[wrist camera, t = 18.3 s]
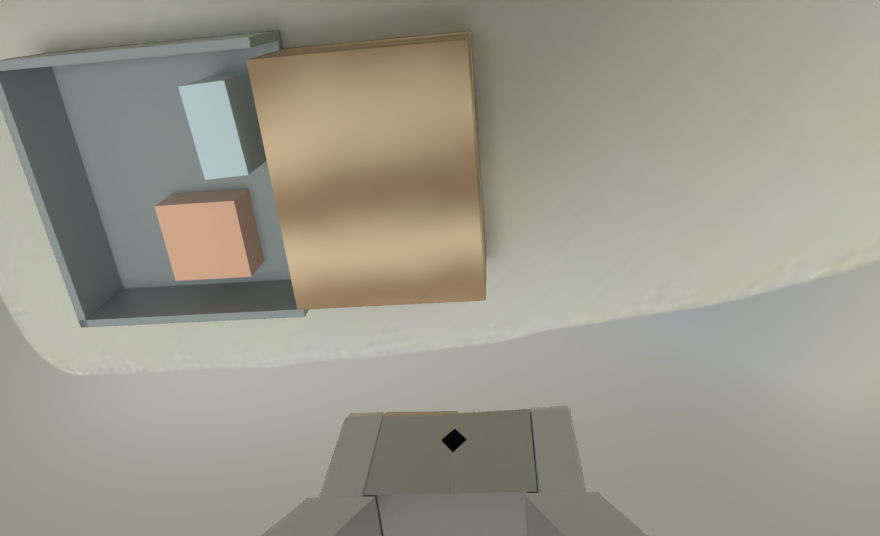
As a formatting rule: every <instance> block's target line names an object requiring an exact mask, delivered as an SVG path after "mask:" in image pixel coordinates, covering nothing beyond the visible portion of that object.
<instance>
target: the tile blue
mask: <svg viewBox="0 0 880 536" xmlns="http://www.w3.org/2000/svg"><path fill="white" fill-rule="evenodd" d="M178 88H179V92H180V95H181V98H182V102H183V105H184V109H185V112H186V116H187V119H188V123H189V126H190V130H191V133H192V137H193V140H194V143H195V147H196V150H197V154H198V157H199V161H200V164H201V168H202V171H203V175H204V178H205V180H208V179H217V178H226V177H235V176H243V175H249V174H250V173H252V172H253V171H254V170H255V169H257V168H258V167H259V166H260V165H262V164H263V163H264V162H266V161H267V160H266V155H265V150H264V145H263V140H262V135H261V130H260V126H259V121H258V116H257V111H256V106H255V101H254V96H253V92H252V87H251V82H250V77H249V72H248V70H243V71H236V72H228V73H221V74H215V75H212V76H209V77H206V78H203V79H200V80H197V81H194V82H190V83H187V84H184V85H181V86H178Z"/></svg>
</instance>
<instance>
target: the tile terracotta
mask: <svg viewBox="0 0 880 536" xmlns="http://www.w3.org/2000/svg"><path fill="white" fill-rule="evenodd" d="M155 210H156V213H157V217H158V220H159V224H160V227H161V231H162V234H163V238H164V241H165V245H166V248H167V252H168V255H169V259H170V262H171V266H172V269H173V273H174V276H175V280H176V281H183V280H201V279H220V278H238V277H252V276H253V274H254V273H255V272H256V271H257V269H258V268H259V267H260V266H261V265H262V263H263V262H264V257H263V252H262V248H261V243H260V239H259V234H258V230H257V225H256V220H255V216H254V211H253V207H252V202H251V198H250V193H249V189H234V190H219V191H205V192H191V193H176V194H172V195H171V196H169V197H168V198H166V199H164V200H163V201H161V202H160V203H158V204H157V205H155Z"/></svg>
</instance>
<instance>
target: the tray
mask: <svg viewBox="0 0 880 536" xmlns="http://www.w3.org/2000/svg"><path fill="white" fill-rule="evenodd" d="M280 49H282V45H281V40H280V35H279V31H269V32H259V33H249V34H238V35H228V36H218V37H207V38H197V39H186V40H176V41H166V42H155V43H145V44H135V45H124V46H114V47H104V48H93V49H83V50H73V51H62V52H52V53H43V54H36V55H30V56H23V57H17V58H10V59H4V60H0V107H1V110H2V112H3V115H4V118H5V121H6V123H7V126H8V129H9V132H10V134H11V137H12V140H13V142H14V145H15V148H16V151H17V153H18V156H19V159H20V162H21V164H22V167H23V170H24V173H25V175H26V178H27V181H28V184H29V186H30V189H31V192H32V194H33V197H34V200H35V203H36V205H37V208H38V211H39V214H40V216H41V219H42V222H43V225H44V227H45V230H46V233H47V236H48V238H49V241H50V244H51V246H52V249H53V252H54V255H55V257H56V260H57V263H58V266H59V268H60V271H61V274H62V277H63V279H64V282H65V285H66V288H67V290H68V293H69V296H70V298H71V301H72V304H73V307H74V309H75V312H76V315H77V318H78V320H79V323H80V326H81V327H101V326H122V325H142V324H163V323H183V322H204V321H225V320H245V319H266V318H287V317H305V316H306V314H307V312H308V310H309V309H302V310H297V305H296V300H295V296H294V291H293V286H292V281H291V276H290V271H289V266H288V262H287V257H286V252H285V247H284V242H283V237H282V232H281V228H280V223H279V218H278V213H277V208H276V203H275V198H274V194H273V189H272V184H271V179H270V174H269V169H268V164H267V161H266V162H264V163H263V164H262V165H260V166H259V167H258V168H257V169H255V170H254V171H253V172H252V173H250V174H249V175H243V176H235V177H226V178H217V179H208V180H205V178H204V175H203V171H202V168H201V164H200V161H199V157H198V154H197V150H196V147H195V143H194V140H193V137H192V133H191V130H190V126H189V123H188V119H187V116H186V112H185V109H184V105H183V102H182V98H181V95H180V92H179V88H178V86H181V85H184V84H187V83H190V82H194V81H197V80H200V79H203V78H206V77H209V76H212V75H215V74H221V73H228V72H236V71H243V70H248V67H247V62H246V60H247V59H251V58H254V57H257V56H260V55H264V54H267V53H270V52H273V51H277V50H280ZM234 189H249V193H250V198H251V202H252V207H253V211H254V216H255V220H256V225H257V230H258V234H259V239H260V243H261V248H262V252H263V257H264V262H263V263H262V265H261V266H260V267H259V268H258V269H257V271H256V272H255V273H254V274H253V276H252V277H238V278H220V279H201V280H183V281H176V280H175V276H174V273H173V269H172V266H171V262H170V259H169V255H168V252H167V248H166V245H165V241H164V238H163V234H162V231H161V227H160V224H159V220H158V217H157V213H156V210H155V205H157V204H158V203H160V202H161V201H163V200H164V199H166V198H168V197H169V196H171V195H172V194H176V193H191V192H205V191H219V190H234Z"/></svg>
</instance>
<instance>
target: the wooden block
mask: <svg viewBox="0 0 880 536" xmlns="http://www.w3.org/2000/svg"><path fill="white" fill-rule="evenodd" d="M246 62H247V67H248V72H249V77H250V82H251V87H252V92H253V96H254V101H255V106H256V111H257V116H258V121H259V126H260V130H261V135H262V140H263V145H264V150H265V155H266V160H267V164H268V169H269V174H270V179H271V184H272V189H273V194H274V198H275V203H276V208H277V213H278V218H279V223H280V228H281V232H282V237H283V242H284V247H285V252H286V257H287V262H288V266H289V271H290V276H291V281H292V286H293V291H294V296H295V300H296V305H297V310H302V309H322V308H342V307H362V306H382V305H402V304H422V303H443V302H463V301H483V300H486V249H485V235H484V220H483V205H482V191H481V176H480V161H479V147H478V132H477V117H476V103H475V88H474V74H473V59H472V44H471V31H467V32H457V33H446V34H435V35H424V36H414V37H403V38H392V39H382V40H371V41H360V42H350V43H339V44H328V45H318V46H307V47H296V48H285V49H280V50H277V51H273V52H270V53H267V54H264V55H260V56H257V57H254V58H251V59H247V60H246Z"/></svg>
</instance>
